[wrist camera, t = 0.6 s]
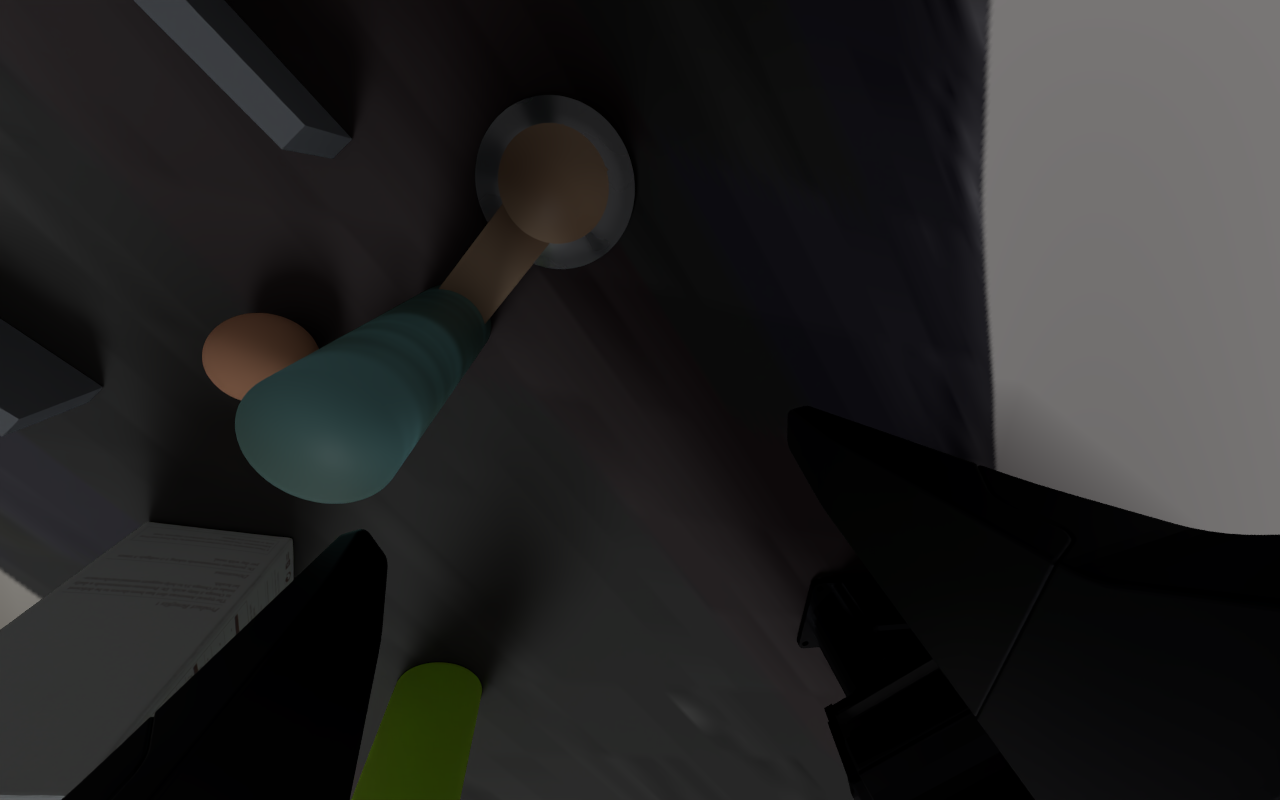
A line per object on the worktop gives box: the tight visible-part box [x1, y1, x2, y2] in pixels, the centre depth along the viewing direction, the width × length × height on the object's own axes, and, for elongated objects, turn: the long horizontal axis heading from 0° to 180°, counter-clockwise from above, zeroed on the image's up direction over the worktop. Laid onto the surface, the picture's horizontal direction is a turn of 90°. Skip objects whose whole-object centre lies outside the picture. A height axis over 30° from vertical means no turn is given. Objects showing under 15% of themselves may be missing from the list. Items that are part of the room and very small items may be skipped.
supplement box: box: [0, 522, 294, 800], centre depth 21 cm, size 7×7×13 cm
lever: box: [235, 123, 609, 504], centre depth 16 cm, size 19×4×12 cm, turn 137°
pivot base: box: [475, 95, 635, 269], centre depth 20 cm, size 7×7×1 cm
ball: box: [202, 313, 319, 400], centre depth 20 cm, size 4×4×4 cm
